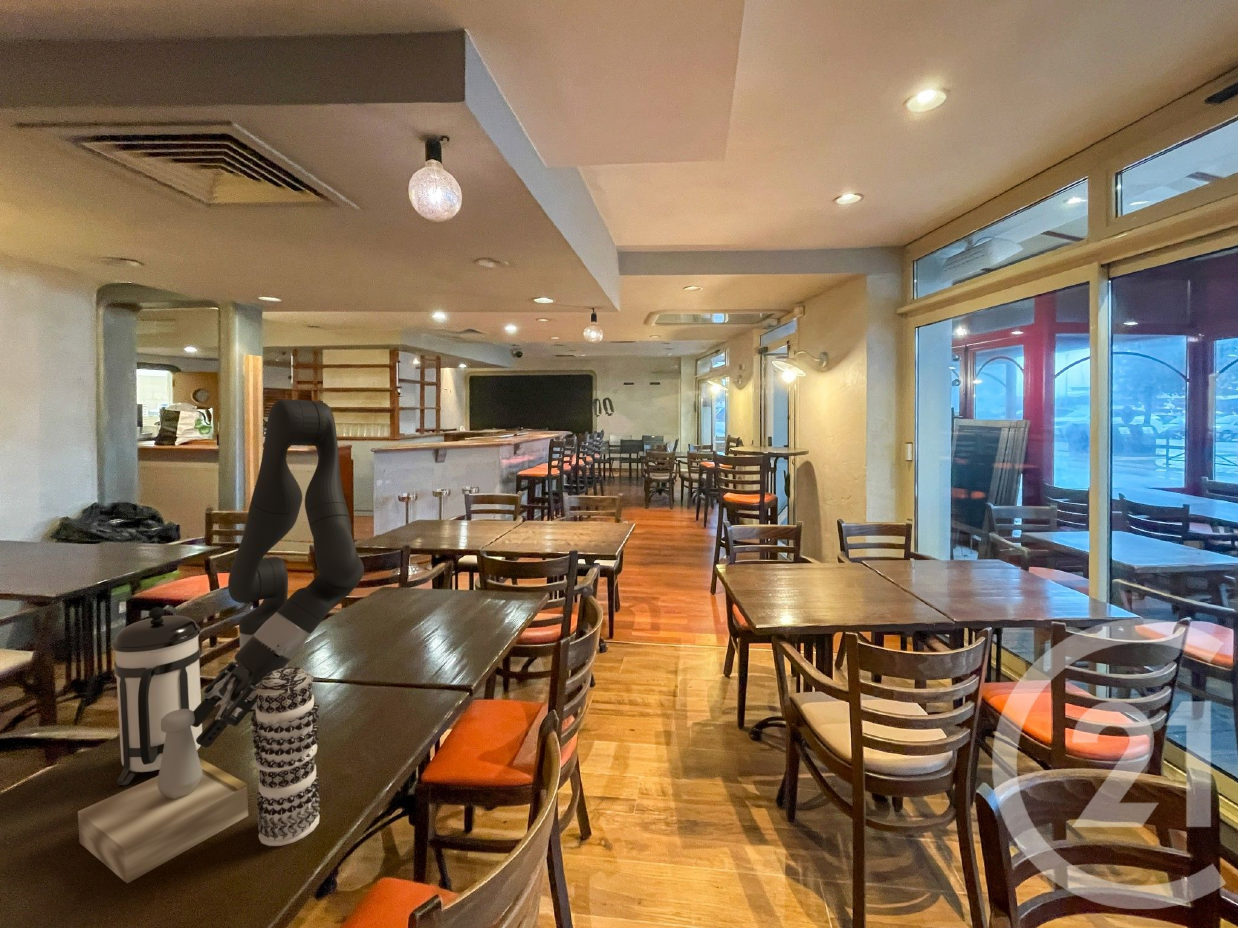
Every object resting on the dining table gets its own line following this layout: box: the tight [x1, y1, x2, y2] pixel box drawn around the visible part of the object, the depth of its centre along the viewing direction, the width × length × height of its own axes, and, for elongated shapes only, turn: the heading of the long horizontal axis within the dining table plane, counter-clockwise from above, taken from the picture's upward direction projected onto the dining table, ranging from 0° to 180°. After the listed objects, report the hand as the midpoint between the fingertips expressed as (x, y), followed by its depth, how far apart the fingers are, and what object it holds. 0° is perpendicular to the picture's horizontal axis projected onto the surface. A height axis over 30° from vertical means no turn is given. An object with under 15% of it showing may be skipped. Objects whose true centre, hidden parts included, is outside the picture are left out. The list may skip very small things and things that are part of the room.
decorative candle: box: [250, 666, 321, 847], centre depth 90 cm, size 9×9×25 cm
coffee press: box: [111, 606, 203, 787], centre depth 106 cm, size 17×16×30 cm
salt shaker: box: [157, 709, 203, 800], centre depth 91 cm, size 6×6×13 cm
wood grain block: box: [77, 757, 249, 884], centre depth 90 cm, size 16×16×5 cm
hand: (195, 734), depth 92 cm, fingers open, 8 cm apart
